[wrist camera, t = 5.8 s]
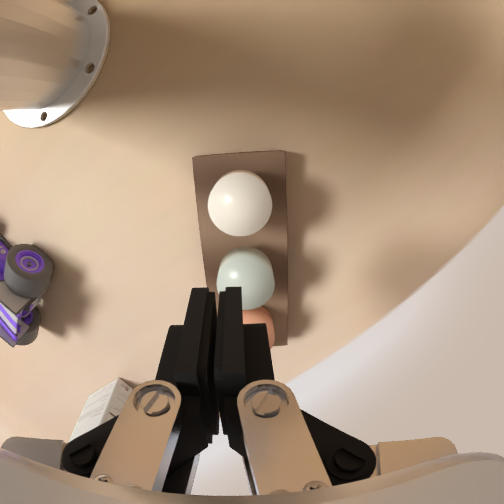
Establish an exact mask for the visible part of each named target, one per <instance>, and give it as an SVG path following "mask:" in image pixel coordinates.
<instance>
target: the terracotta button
mask: <svg viewBox="0 0 504 504" xmlns="http://www.w3.org/2000/svg"><path fill="white" fill-rule="evenodd" d="M242 311H243V324H256V323H266V326H267V332H268V339H269V346H270V349H271V348H272V346H273V344H274V341H275V334H274V326H273V319H272V316H271V314H270V313H269V312H268V311H267V310H266V309H265V308H263V307H261V306H260V307H258V308H255V309H250V310H242Z"/></svg>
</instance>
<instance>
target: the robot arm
mask: <svg viewBox="0 0 504 504" xmlns="http://www.w3.org/2000/svg"><path fill="white" fill-rule="evenodd" d="M95 8H97V11H96V12H95V13H94V14H92V15H91V12H92V10H93V9H95ZM109 43H110V21H109V17H108V14H107V12H106V10H105V8H104V7H103V5H102V4H101V3H100V2H99V1H97V0H0V111H4V112H5V114H6V115H7V116H8V118H9V119H10V120H11V121H13V122H14V123H15V124H17V125H19V126H22V127H26V128H39V127H44V126H47V125H50V124H52V123H54V122H56V121H58V120H60V119H61V118H63V117H64V116H66V115H67V114H68V113H70V112H71V111H72V110H73V109H74V108H75V107H76V106H77V105H78V104H79V103H80V102H81V101H82V99H83V98H84V97H85V96H86V94H87V93H88V92H89V90H90V89H91V87H92V86H93V84H94V83H95V81H96V79H97V77H98V75H99V74H100V71H101V69H102V67H103V65H104V62H105V59H106V56H107V52H108V48H109ZM93 64H94V66H95V67H94V70H93V71H92V72H91V73H89V72H88V69H89V67H90V66H91V65H93ZM46 112H47V115H48V116H47V119H46V120H44V114H45V113H46ZM219 411H220V417H221V423H222V428H223V434H224V435H228V440H229V445H230V447H231V448H232V449H234V450H235V451H236V452H238V453H239V454H240V455H241V456H242V458H243V462H244V467H245V471H246V476H247V480H248V484H249V488H250V492H251V496H204V495H203V496H202V495H190V494H191V490H192V486H193V482H194V478H195V474H196V469H197V466H198V462H199V453H200V452H201V451H202V450H204V449H205V448H207V447H208V443H212V435H218V433H219ZM0 504H504V458H503V457H502V456H499V455H497V454H491V453H483V452H477V453H463V454H458V453H457V450H456V447H455V445H454V444H453V443H452V442H451V441H450V440H448V439H446V438H443V437H432V438H425V439H416V440H405V441H392V442H379V443H378V444H377V445H367V444H366V443H364V442H362V441H361V440H358V439H356V438H354V437H352V436H350V435H348V434H346V433H344V432H342V431H340V430H338V429H336V428H334V427H332V426H330V425H328V424H327V423H325V422H323V421H321V420H319V419H317V418H315V417H314V416H312V415H310V414H308V413H306V412H304V411H303V410H301V409H300V408H299V405H298V403H297V401H296V399H295V396H294V394H293V392H292V391H291V389H290V388H288V387H287V386H286V385H285V384H283V383H280V382H278V381H275V380H274V373H273V366H272V359H271V353H270V346H269V339H268V332H267V326H266V323H256V324H243V311H242V287H226V289H225V291H220V292H219V303H218V316H217V308H216V297H215V292H209V288H192V291H191V295H190V299H189V304H188V308H187V312H186V317H185V321H184V325H171V326H170V327H169V330H168V334H167V337H166V341H165V345H164V348H163V352H162V356H161V359H160V363H159V367H158V371H157V375H156V379H155V380H152V381H146V382H144V383H142V384H139V385H138V386H137V387H135V388H134V389H133V390H132V392H131V393H130V394H129V396H128V398H127V400H126V402H125V404H124V406H123V408H122V410H121V412H120V414H119V415H117V416H115V417H114V418H112V419H110V420H108V421H106V422H105V423H103V424H101V425H99V426H97V427H95V428H94V429H92V430H90V431H88V432H86V433H84V434H82V435H80V436H78V437H77V438H75V439H73V440H72V441H70V442H69V443H64V441H63V440H49V439H36V438H25V437H11V438H9V439H7V440H6V441H5V442H4V443H3V445H2V447H1V448H0Z"/></svg>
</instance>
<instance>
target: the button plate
mask: <svg viewBox="0 0 504 504" xmlns="http://www.w3.org/2000/svg"><path fill="white" fill-rule="evenodd" d="M192 160H193V171H194V182H195V192H196V202H197V211H198V220H199V229H200V237H201V246H202V254H203V261H204V269H205V277H206V284H207V288H209V292H215V297H216V308H217V316H218V303H219V293H218V291H217V277H218V272H219V266H220V263H221V261H222V259H223V257H224V256H225V255H226V254H227V253H228V252H230V251H231V250H233V249H235V248H238V247H253V248H256V249H258V250H260V251H262V252H263V253H264V254H265V255H266V256H267V257H268V258H269V260H270V262H271V265H272V270H273V275H274V281H275V287H274V292H273V294H272V296H271V297H270V299H269V300H268V301H267V302H266V303H265V304H263V305H262V306H261V307H263V308H265V309H266V310H267V311H268V312H269V313H270V314H271V316H272V319H273V326H274V334H275V341H274V344H273V346H283V345H287V334H288V255H287V203H286V172H285V151H282V150H278V151H255V152H239V153H225V154H213V155H202V156H195V157H193V158H192ZM235 170H246V171H250V172H252V173H255V174H256V175H258V176H259V177H260V178H261V179H262V180H263V181H264V182H265V184H266V186H267V188H268V190H269V193H270V195H271V199H272V211H271V215H270V218H269V220H268V221H267V223H266V224H265V225H264V227H262V228H261V229H260V230H259V231H257V232H256V233H254V234H251V235H248V236H232V235H229V234H226V233H225V232H223V231H221V230H220V229H219V228H218V227H216V225H215V224H214V223H213V221H212V220H211V218H210V215H209V212H208V199H209V195H210V193H211V191H212V189H213V187H214V186H215V184H216V183H217V181H218V180H219V179H220V178H221V177H222V176H223V175H225V174H227V173H229V172H231V171H235Z"/></svg>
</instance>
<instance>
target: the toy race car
mask: <svg viewBox="0 0 504 504" xmlns="http://www.w3.org/2000/svg"><path fill="white" fill-rule="evenodd" d="M52 272H53V263H52V260H51V259H50V258H49V257H48V256H47V255H46V254H45V253H44V252H43V251H41V250H40V249H39V248H37V247H35V246H33V245H29V244H19V245H16V246H14V247H11V246H10V245H9V243H8V242H7V241H6V239H5V238H4V237H3V236H2V235H1V234H0V337H1V338H2V339H3V340H4V341H6V342H7V343H8V344H9V345H10V346H12V347H14V346H15V345H28V344H30V343H32V342H33V341H34V340H35V339H36V337H37V335H38V330H39V325H40V314H39V311H38V309H37V308H35V306H36V305H37V304H39V302H41V299H42V298H41V297H42V295H43V294H44V293H45V292H46V291H47V289H48V286H49V282H50V279H51V275H52Z"/></svg>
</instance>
